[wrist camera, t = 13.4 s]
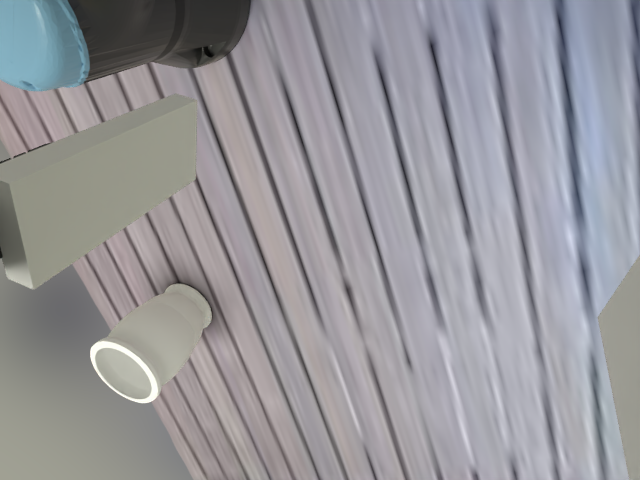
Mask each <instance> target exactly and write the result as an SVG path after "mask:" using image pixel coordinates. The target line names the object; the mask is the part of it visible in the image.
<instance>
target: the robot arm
mask: <svg viewBox="0 0 640 480" xmlns="http://www.w3.org/2000/svg"><path fill="white" fill-rule="evenodd" d="M249 6H250V0H0V80H2V81H4V82H5V83H7V84H9V85H12V86H14V87H17V88H20V89H24V90H28V91H47V90H51V89H56V88H61V87H77V86H79V85H81V84H83V83H86V82H89V81H92V80H96V79H99V78H102V77H105V76H108V75H111V74H115V73H118V72H121V71H124V70H127V69H130V68H134V67H137V66H140V65H143V64H146V63H149V62H155V63H159V64H164V65H168V66H173V67H178V68H197V67H201V66H204V65H207V64H210V63H213V62H216V61H218V60H220V59H221V58H223V57H224V56H226V55H227V54H228V53H229V52H230V51H231V50H232V49H233V48H234V47H235V45H236V44H237V43H238V41H239V39H240V38H241V36H242V34H243V31H244V29H245V26H246V23H247V19H248V14H249ZM196 141H197V100H195V99H192V98H189V97H185V96H182V95H179V94H174V95H171V96H169V97H166V98H164V99H161V100H158V101H156V102H153V103H151V104H148V105H146V106H143V107H141V108H138V109H136V110H133V111H131V112H128V113H126V114H123V115H121V116H118V117H116V118H113V119H111V120H108V121H106V122H103V123H101V124H98V125H96V126H93V127H91V128H88V129H86V130H83V131H81V132H78V133H76V134H73V135H71V136H68V137H66V138H63V139H61V140H58V141H56V142H53V143H48V144H44V145H42V146H39V147H37V148H34V149H32V150H29V151H28V153H25V152H24V153H22V154H19V155H17V156H14V158H13V159H11V158H9V159H7V160H4V161H1V162H0V258H2V260H3V264H4V268H5V272H6V275H7V278H8V279H10V280H12V281H15V282H17V283H20V284H22V285H24V286H26V287H28V288H31V289H33V290H34V289H36V288H37V287H38V286H40V285H41V284H43V283H44V282H46V281H47V280H49V279H50V278H52V277H53V276H54V275H56V274H57V273H59V272H60V271H62V270H63V269H65V268H66V267H68V266H69V265H71V264H72V263H74V262H75V261H77V260H78V259H80V258H81V257H82V256H84V255H85V254H87V253H88V252H90V251H91V250H93V249H94V248H96V247H97V246H99V245H100V244H102V243H103V242H104V241H106V240H107V239H109V238H110V237H112V236H113V235H115V234H116V233H118V232H119V231H121V230H122V229H124V228H125V227H126V226H128V225H129V224H131V223H132V222H134V221H135V220H137V219H138V218H140V217H141V216H143V215H144V214H146V213H147V212H148V211H150V210H151V209H153V208H154V207H156V206H157V205H159V204H160V203H162V202H163V201H165V200H166V199H168V198H169V197H170V196H172V195H173V194H175V193H176V192H178V191H179V190H181V189H182V188H184V187H185V186H187V185H188V184H190V183H191V182H192V181H194V180H195V179H196ZM598 322H599V327H600V332H601V337H602V342H603V347H604V352H605V357H606V363H607V368H608V373H609V378H610V383H611V388H612V393H613V398H614V403H615V409H616V414H617V419H618V424H619V429H620V434H621V439H622V444H623V449H624V454H625V460H626V465H627V470H628V475H629V480H640V255H639V257H638V258H637V260H636V261H635V263H634V264H633V266H632V267H631V269H630V270H629V272H628V273H627V275H626V276H625V278H624V279H623V281H622V282H621V284H620V285H619V286H618V288H617V289H616V291H615V292H614V294H613V295H612V297H611V298H610V300H609V301H608V303H607V304H606V306H605V307H604V309H603V310H602V312H601V313H600V315H599V316H598Z"/></svg>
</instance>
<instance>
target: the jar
mask: <svg viewBox="0 0 640 480" xmlns="http://www.w3.org/2000/svg"><path fill="white" fill-rule="evenodd" d="M211 320H212V312H211V308H210V306H209V304H208V302H207V301H206V299H205V298H204V297H203V296H202V295H201V294H200V293H199V292H198V291H197V290H195V289H194V288H192V287H190V286H188V285H184V284H173V285H170V286H169V287H168V288H167V289H166V290H165V292H164V293H163V294H160V295H157V296H155V297H153V298H152V299H150V300H148V301H147V302H145V303H144V304H142V305H141V306H139V307H137V308H136V309H134V310H133V311H131V312H130V313H129V314H127V315H126V316H125V317H124V318H123V319H122V320H121V321H120V322H119V323H118V324H117V325H116V326H115V327H114V329H113V330H112V331H111V333H110V334H109V336H108V337H107V338H104V339H101V340H99V341H98V342H97V343H96V344H94V345H93V346H92V348H91V352H90V356H91V361H92V364H93V366H94V368H95V370H96V371H97V373H98V375H99V376H100V377H101V379H102V380H103V381H104V382H105V383H106V384H107V385H108V386H109V387H110V388H111V389H113V390H114V391H115V392H117V393H118V394H120V395H121V396H123V397H125V398H127V399H129V400H132V401H134V402H139V403H149V402H152V401H153V400H154V399H155V398H157V397H158V395H159V394H160V392H161V388H162V386H163V385H165V384H166V383H167V382H168V381H169V380H171V379H172V378H173V377H174V376H175V375H176V374H177V373H178V372H179V371H180V370H181V368H182V367H183V366H184V365H185V363H186V362H187V360H188V359H189V357H190V355H191V353H192V351H193V349H194V348H195V346H196V345H197V343H198V341H199V339H200V337H201V334H202V331H203V329H204V328H206V327H207V326H208V325H209V324H210V322H211Z"/></svg>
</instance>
